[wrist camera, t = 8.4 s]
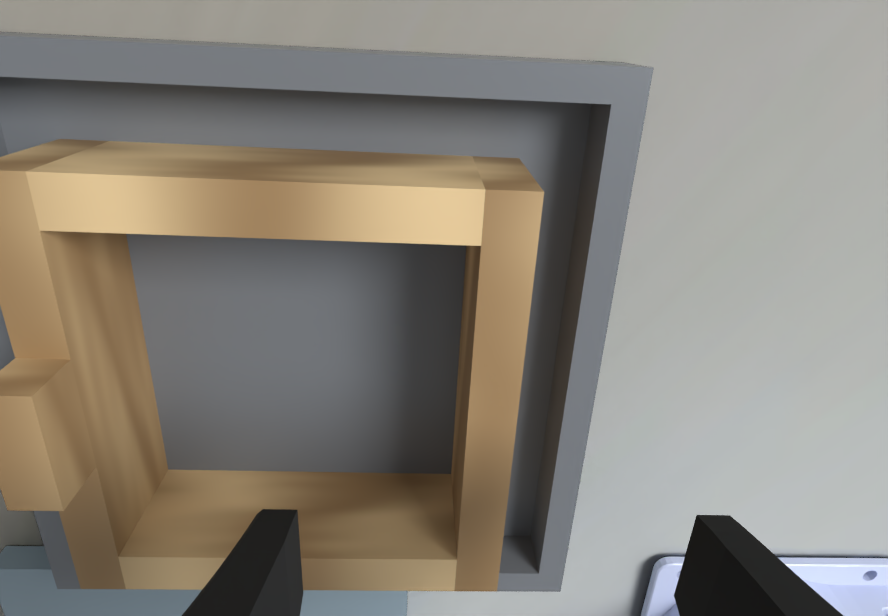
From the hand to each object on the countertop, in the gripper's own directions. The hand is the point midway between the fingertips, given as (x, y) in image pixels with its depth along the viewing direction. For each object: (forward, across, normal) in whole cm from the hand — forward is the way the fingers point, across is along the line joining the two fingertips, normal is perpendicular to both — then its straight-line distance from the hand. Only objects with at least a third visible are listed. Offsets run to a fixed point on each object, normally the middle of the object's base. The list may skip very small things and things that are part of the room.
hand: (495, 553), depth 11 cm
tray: (+8, +5, 0) cm, 9 cm away
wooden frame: (+8, +5, 0) cm, 9 cm away
